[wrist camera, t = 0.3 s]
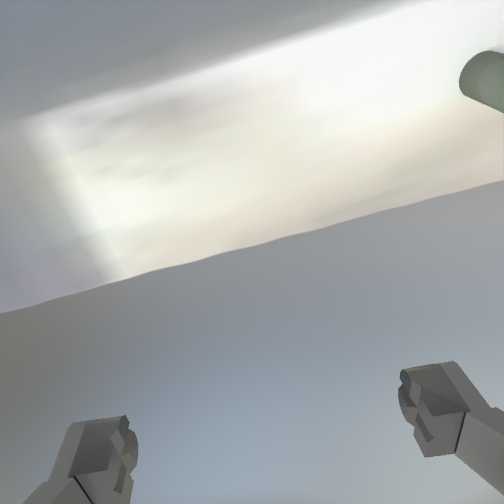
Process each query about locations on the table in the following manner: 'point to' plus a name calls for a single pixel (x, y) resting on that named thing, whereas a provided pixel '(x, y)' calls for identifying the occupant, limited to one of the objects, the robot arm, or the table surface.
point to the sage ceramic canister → (484, 79)
